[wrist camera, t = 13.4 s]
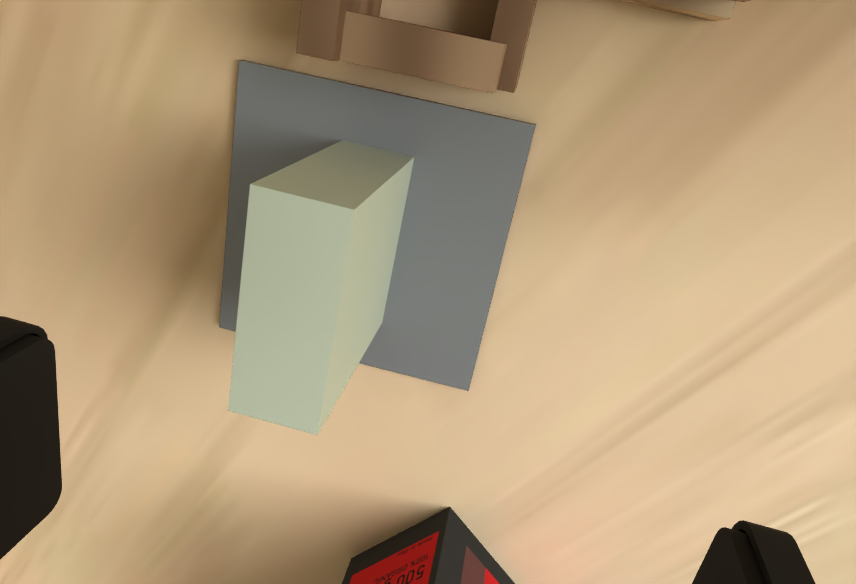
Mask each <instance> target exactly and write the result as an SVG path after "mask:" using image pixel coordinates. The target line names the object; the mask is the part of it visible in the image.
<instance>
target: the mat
mask: <svg viewBox="0 0 856 584" xmlns="http://www.w3.org/2000/svg"><path fill="white" fill-rule="evenodd" d="M535 125H536V124H532V123H527V122H523V121H518V120H514V119H509V118H505V117H500V116H496V115H491V114H486V113H482V112H477V111H473V110H468V109H464V108H459V107H455V106H450V105H445V104H441V103H436V102H432V101H427V100H423V99H418V98H414V97H409V96H404V95H400V94H395V93H391V92H386V91H382V90H377V89H373V88H368V87H363V86H359V85H354V84H350V83H345V82H341V81H336V80H332V79H327V78H322V77H318V76H313V75H309V74H304V73H300V72H295V71H291V70H286V69H281V68H277V67H272V66H268V65H263V64H259V63H254V62H250V61H245V60H239V69H238V83H237V96H236V109H235V123H234V136H233V149H232V163H231V176H230V189H229V203H228V216H227V229H226V243H225V256H224V269H223V283H222V296H221V309H220V323H219V327H220V328H224V329H228V330H232V331H236V324H237V314H238V304H239V293H240V283H241V273H242V263H243V252H244V242H245V232H246V221H247V211H248V201H249V191H250V184H251V183H254V182H256V181H258V180H260V179H262V178H264V177H266V176H268V175H270V174H273V173H275V172H277V171H279V170H281V169H283V168H285V167H287V166H289V165H291V164H294V163H296V162H298V161H300V160H302V159H304V158H306V157H308V156H310V155H313V154H315V153H317V152H319V151H321V150H323V149H325V148H327V147H329V146H331V145H334V144H336V143H338V142H340V141H342V140H345V141H349V142H353V143H357V144H361V145H366V146H370V147H374V148H378V149H383V150H387V151H391V152H395V153H399V154H404V155H408V156H412V157H414V162H413V167H412V172H411V177H410V182H409V187H408V193H407V198H406V203H405V208H404V213H403V218H402V223H401V229H400V234H399V239H398V244H397V249H396V254H395V259H394V264H393V270H392V275H391V280H390V285H389V290H388V295H387V300H386V306H385V311H384V316H383V321H382V324H381V326H380V327H379V329H378V331H377V332H376V334H375V336H374V338H373V339H372V341H371V343H370V345H369V346H368V348H367V350H366V352H365V353H364V355H363V357H362V359H361V360H360V362H359V363H361V364H365V365H369V366H373V367H376V368H380V369H384V370H388V371H392V372H396V373H400V374H404V375H408V376H412V377H416V378H420V379H423V380H427V381H431V382H435V383H439V384H443V385H447V386H451V387H455V388H459V389H463V390H466V391H469V387H470V383H471V379H472V375H473V371H474V367H475V363H476V359H477V355H478V351H479V347H480V344H481V340H482V336H483V332H484V328H485V324H486V320H487V316H488V312H489V308H490V304H491V300H492V296H493V292H494V288H495V284H496V280H497V276H498V272H499V268H500V264H501V260H502V256H503V252H504V248H505V244H506V240H507V236H508V232H509V228H510V225H511V221H512V217H513V213H514V209H515V205H516V201H517V197H518V193H519V189H520V185H521V181H522V177H523V173H524V169H525V165H526V161H527V157H528V153H529V149H530V145H531V141H532V137H533V133H534V129H535Z"/></svg>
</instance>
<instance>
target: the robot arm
mask: <svg viewBox="0 0 856 584" xmlns="http://www.w3.org/2000/svg"><path fill="white" fill-rule="evenodd" d="M61 490H62V478H61V459H60V439H59V420H58V400H57V381H56V361H55V349H54V345H53V343H52V342H51V341H50V340H48V338H47V334H46V332H45V331H44V329H42V328H41V327H39V326H36V325H33V324H29V323H26V322H22V321H18V320H15V319H11V318H7V317H1V316H0V559H1V558H2V557H3V556H5V555H6V554H7V553H8V552H9V551H10V550H11V549H12V548H13V547H14V546H15V545H16V544H17V543H18V542H19V541H21V540H22V539H23V538H24V537H25V536H26V535H27V534H28V533H29V532H30V531H31V530H32V529H33V528H34V527H35V526H37V525H38V524H39V523H40V522H41V521H42V520H43V519H44V518H45V517H46V516H47V515H48V514H49V513H50V512H51V511H52V510H53V508H54V507H55V505H56V504H57V502H58V500H59V498H60V494H61ZM692 584H815V582H814V580H813V577H812V575H811V573H810V571H809V569H808V567H807V565H806V562H805V560H804V558H803V556H802V554H801V552H800V549H799V547H798V545H797V543H796V541H795V540H794V538H793V537H792V535H790V534H788V533H787V532H783V531H780V530H776V529H773V528H769V527H765V526H762V525H758V524H754V523H751V522H747V521H738V522H737V523H736V524H735V525H734V526H733V528H732V529H729V528H721V529H720V530H718V532H717V534H716V535H715V537H714V539H713V541H712V543H711V545H710V548H709V550H708V552H707V554H706V556H705V558H704V560H703V562H702V564H701V566H700V568H699V570H698V572H697V574H696V576H695V578H694V581H693V583H692Z"/></svg>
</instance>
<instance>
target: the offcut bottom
mask: <svg viewBox="0 0 856 584" xmlns="http://www.w3.org/2000/svg"><path fill="white" fill-rule="evenodd" d="M623 1H627V2H631V3H636V4H640V5H645V6H649V7H654V8H658V9H662V10H667V11H671V12H676V13H680V14H685V15H689V16H693V17H698V18H702V19H707V20H711V21H719V20H725V19H730V16H731V14H732V11H733V8H734V5H735V3H736V1H732V0H623Z"/></svg>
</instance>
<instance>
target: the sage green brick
mask: <svg viewBox="0 0 856 584" xmlns="http://www.w3.org/2000/svg"><path fill="white" fill-rule="evenodd" d="M413 162H414V157H412V156H408V155H404V154H399V153H395V152H391V151H387V150H383V149H378V148H374V147H370V146H366V145H361V144H357V143H353V142H349V141H345V140H342V141H340V142H338V143H336V144H334V145H331V146H329V147H327V148H325V149H323V150H321V151H319V152H317V153H315V154H313V155H310V156H308V157H306V158H304V159H302V160H300V161H298V162H296V163H294V164H291V165H289V166H287V167H285V168H283V169H281V170H279V171H277V172H275V173H273V174H270V175H268V176H266V177H264V178H262V179H260V180H258V181H256V182H254V183H251V184H250V191H249V201H248V211H247V221H246V232H245V242H244V252H243V263H242V273H241V283H240V293H239V304H238V314H237V324H236V335H235V345H234V355H233V365H232V376H231V386H230V396H229V406H228V411H231V412H235V413H238V414H242V415H246V416H249V417H253V418H257V419H260V420H264V421H268V422H271V423H275V424H278V425H282V426H286V427H289V428H293V429H297V430H300V431H304V432H308V433H311V434H315V435H318V433H319V432H320V430H321V428H322V426H323V425H324V423H325V421H326V419H327V418H328V416H329V414H330V412H331V411H332V409H333V407H334V406H335V404H336V402H337V400H338V399H339V397H340V395H341V393H342V392H343V390H344V388H345V386H346V385H347V383H348V381H349V379H350V378H351V376H352V374H353V372H354V371H355V369H356V367H357V366H358V364H359V362H360V360H361V359H362V357H363V355H364V353H365V352H366V350H367V348H368V346H369V345H370V343H371V341H372V339H373V338H374V336H375V334H376V332H377V331H378V329H379V327H380V326H381V324H382V321H383V316H384V311H385V306H386V300H387V295H388V290H389V285H390V280H391V275H392V270H393V264H394V259H395V254H396V249H397V244H398V239H399V234H400V229H401V223H402V218H403V213H404V208H405V203H406V198H407V193H408V187H409V182H410V177H411V172H412V167H413Z"/></svg>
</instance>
